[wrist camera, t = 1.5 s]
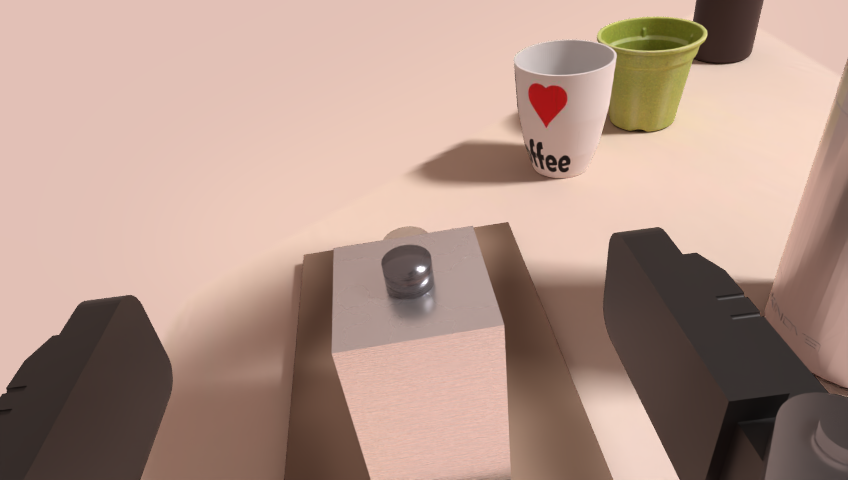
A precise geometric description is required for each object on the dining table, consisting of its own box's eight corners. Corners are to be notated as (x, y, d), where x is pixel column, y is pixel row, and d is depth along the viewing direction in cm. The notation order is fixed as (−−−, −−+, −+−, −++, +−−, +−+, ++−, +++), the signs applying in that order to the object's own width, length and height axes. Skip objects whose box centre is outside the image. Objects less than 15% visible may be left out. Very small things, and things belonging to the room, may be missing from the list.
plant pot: (638, 151, 53) (649, 59, 48) (572, 117, 60) (576, 33, 55) (713, 122, 56) (731, 31, 51) (642, 92, 63) (652, 10, 58)
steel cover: (485, 381, 33) (471, 203, 26) (511, 486, 28) (503, 301, 20) (373, 400, 33) (328, 226, 25) (379, 508, 28) (324, 330, 20)
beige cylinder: (432, 262, 42) (427, 223, 40) (438, 291, 39) (432, 251, 37) (388, 269, 42) (381, 230, 40) (391, 298, 39) (384, 259, 37)
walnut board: (508, 232, 45) (507, 222, 45) (613, 495, 28) (615, 484, 27) (307, 264, 45) (303, 255, 44) (284, 552, 27) (278, 542, 27)
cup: (498, 160, 55) (494, 56, 49) (567, 134, 57) (571, 32, 51) (553, 198, 49) (556, 84, 43) (626, 166, 51) (639, 55, 45)
